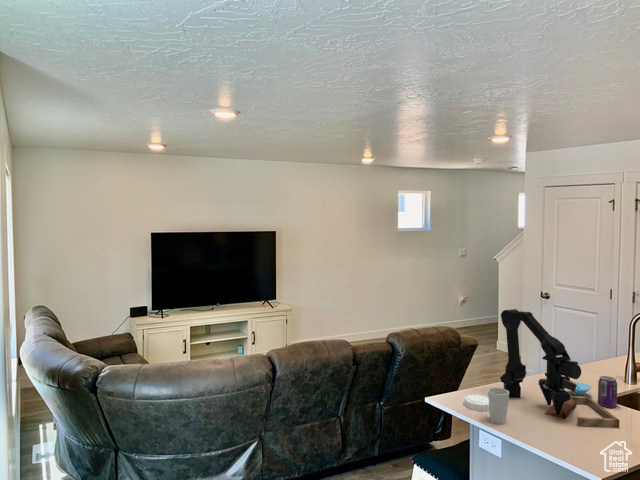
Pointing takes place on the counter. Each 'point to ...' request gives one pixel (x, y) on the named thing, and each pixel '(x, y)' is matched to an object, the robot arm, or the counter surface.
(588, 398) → the corral
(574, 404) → the sunglasses case
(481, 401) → the mooncake
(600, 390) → the beverage can
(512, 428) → the counter surface
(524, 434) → the counter surface
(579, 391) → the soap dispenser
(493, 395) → the cup
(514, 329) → the robot arm
